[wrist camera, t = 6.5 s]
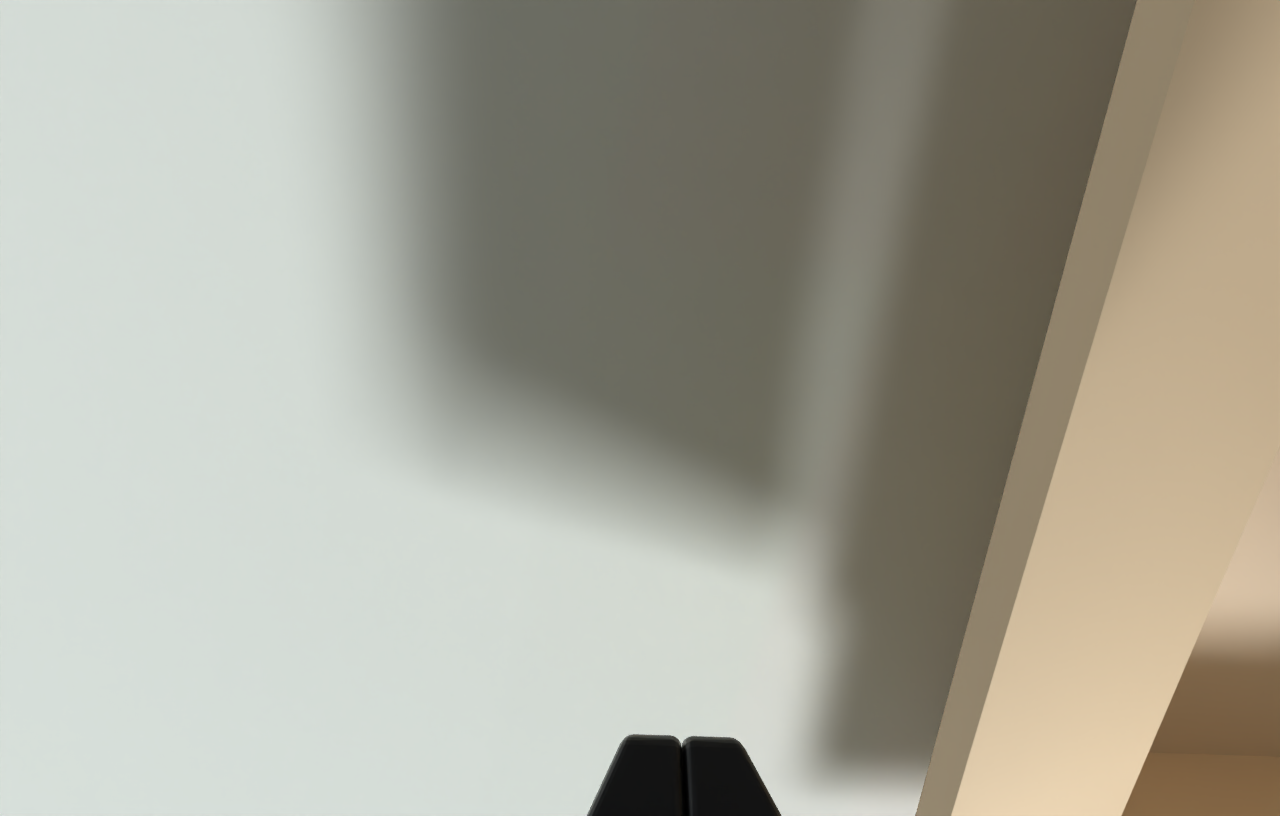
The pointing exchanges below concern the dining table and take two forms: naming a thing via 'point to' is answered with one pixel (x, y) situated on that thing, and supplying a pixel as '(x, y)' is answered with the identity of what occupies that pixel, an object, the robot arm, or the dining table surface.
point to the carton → (1227, 692)
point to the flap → (1131, 430)
